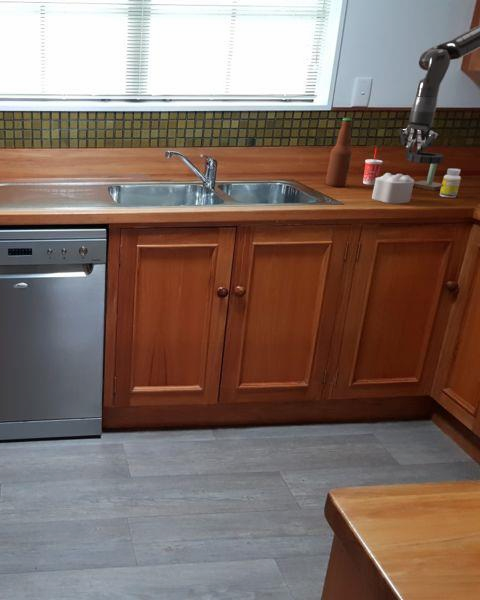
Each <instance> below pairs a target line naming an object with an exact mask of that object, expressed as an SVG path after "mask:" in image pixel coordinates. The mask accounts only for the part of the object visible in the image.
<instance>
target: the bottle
mask: <svg viewBox="0 0 480 600" xmlns="http://www.w3.org/2000/svg"><path fill="white" fill-rule="evenodd" d="M352 120H353V119H352V118H349V117H343V118H342V121H341V127H340V130H339V132H338V135H337V139H336V143H335V145H334V146H333V148H332V149H331V150H330V155H329V160H328V167H327V171H326V172H327V173H326V177H325V184H326V186H328V187H333V188H343V187H345V186H346V185H347V181H348V174H349V169H350V165H351V159H352V158H351V157H352V149H351V147H350V141H351V126H352Z"/></svg>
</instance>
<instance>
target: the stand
mask: <svg viewBox="0 0 480 600" xmlns="http://www.w3.org/2000/svg"><path fill="white" fill-rule="evenodd" d="M437 166H438V164H430V166H429V170H428V173H427V178H426V180H425V179H423V180H419V181H414V185H413V186H414V187H413V188H416V187H418V188H417V189H421V188H423V189H422V190H426V189H427V191H433V192H435V191H440V190H441V186H442V182H441V183H440V182H436V181H435V182H434V178H435V174H436V169H437Z"/></svg>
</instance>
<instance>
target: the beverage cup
mask: <svg viewBox="0 0 480 600" xmlns="http://www.w3.org/2000/svg"><path fill="white" fill-rule="evenodd" d="M377 151H378V147H375V151H374V156H373V159H372V158H371V159H370V158H368V159H365V161H364V163H365V165H364V173H363V181H362V184H364V185H368V186H369V185H370V186H374V185H375V180H376V178H377V177H379V174H380V170H381V167H382V164H383V162H384V161H383V160H380V159H376V157H377Z"/></svg>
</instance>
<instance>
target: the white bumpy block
mask: <svg viewBox="0 0 480 600" xmlns="http://www.w3.org/2000/svg"><path fill="white" fill-rule="evenodd" d="M414 182H415V180H414V179H413V178H412V177H411V176H410V175H408V174H406V175H404V174H403V173H396V174H392V173H390V172H386V173H384V174H383V175H382V176H378V177H377V178H376V180H375V185H373V191H372V194H371V199H372V200H374V201H379V202H383V203H385V204H405V203H409V202H410V201H411V198H412V193H413V188H414V187H413V185H414Z"/></svg>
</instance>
